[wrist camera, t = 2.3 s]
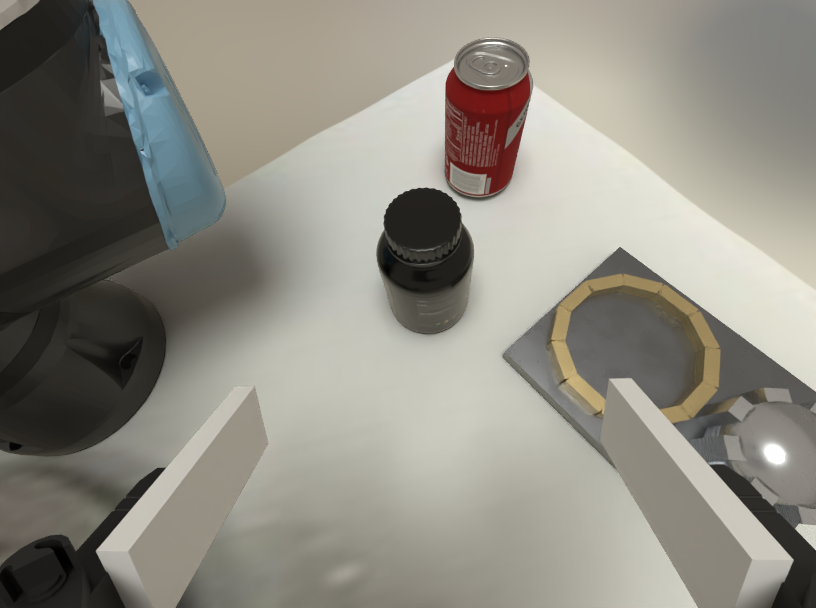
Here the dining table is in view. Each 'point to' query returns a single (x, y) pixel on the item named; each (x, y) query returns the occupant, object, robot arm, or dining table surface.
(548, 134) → the dining table surface
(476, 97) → the soda can
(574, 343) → the carrier
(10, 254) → the robot arm
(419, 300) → the supplement bottle
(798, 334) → the dining table surface
